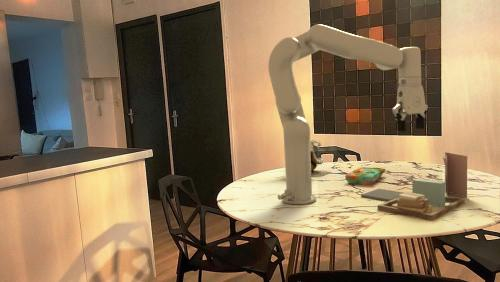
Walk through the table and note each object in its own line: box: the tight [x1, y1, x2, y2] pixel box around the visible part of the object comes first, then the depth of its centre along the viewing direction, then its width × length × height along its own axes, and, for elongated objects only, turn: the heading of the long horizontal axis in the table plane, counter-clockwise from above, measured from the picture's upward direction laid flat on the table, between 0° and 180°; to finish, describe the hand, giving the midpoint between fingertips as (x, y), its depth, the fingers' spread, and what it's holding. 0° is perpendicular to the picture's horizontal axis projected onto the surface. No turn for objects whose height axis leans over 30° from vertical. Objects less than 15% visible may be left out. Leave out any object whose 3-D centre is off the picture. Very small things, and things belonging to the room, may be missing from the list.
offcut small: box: [399, 191, 425, 203], centre depth 134 cm, size 5×6×2 cm
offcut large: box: [391, 203, 433, 214], centre depth 134 cm, size 7×10×2 cm
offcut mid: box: [397, 199, 429, 210], centre depth 134 cm, size 6×8×2 cm
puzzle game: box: [344, 166, 386, 186], centre depth 183 cm, size 12×5×20 cm
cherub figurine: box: [310, 139, 333, 178], centre depth 202 cm, size 18×18×18 cm
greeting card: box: [442, 151, 468, 199], centre depth 150 cm, size 11×7×15 cm, turn 159°
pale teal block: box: [411, 177, 446, 208], centre depth 142 cm, size 3×10×8 cm, turn 41°
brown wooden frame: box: [377, 191, 466, 221], centre depth 139 cm, size 24×18×2 cm
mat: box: [360, 188, 405, 202], centre depth 155 cm, size 12×12×1 cm
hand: (410, 129), depth 149 cm, fingers open, 9 cm apart
